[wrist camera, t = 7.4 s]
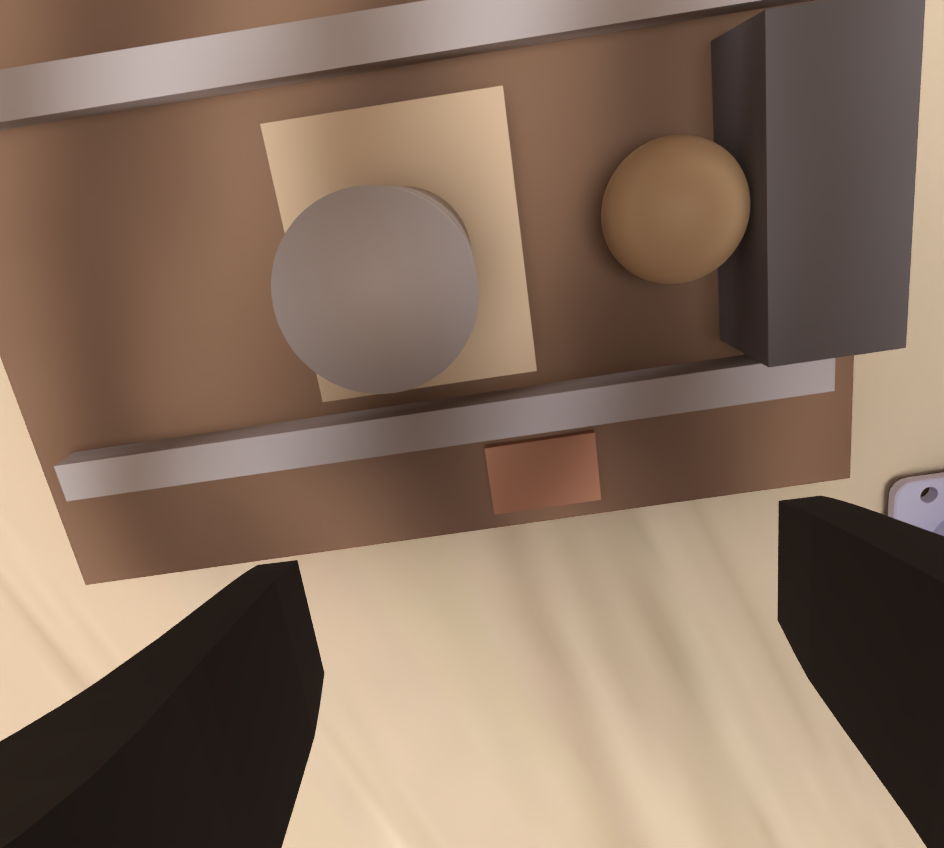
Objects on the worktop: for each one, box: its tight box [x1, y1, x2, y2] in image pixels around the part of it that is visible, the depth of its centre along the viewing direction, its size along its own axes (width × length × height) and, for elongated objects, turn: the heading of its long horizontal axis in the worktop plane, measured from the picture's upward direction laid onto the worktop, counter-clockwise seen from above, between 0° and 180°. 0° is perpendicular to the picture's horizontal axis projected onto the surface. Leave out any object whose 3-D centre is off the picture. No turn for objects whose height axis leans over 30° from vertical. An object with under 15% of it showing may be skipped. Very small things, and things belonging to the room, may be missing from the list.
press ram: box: [260, 85, 537, 402], centre depth 13 cm, size 5×6×8 cm
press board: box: [0, 0, 925, 585], centre depth 16 cm, size 22×16×5 cm
